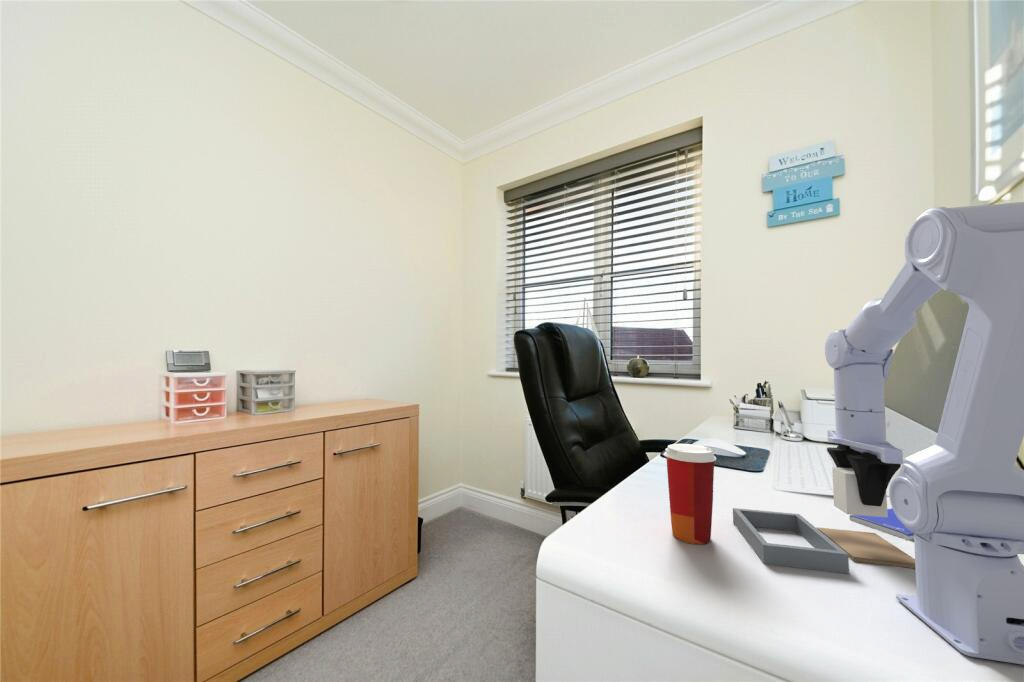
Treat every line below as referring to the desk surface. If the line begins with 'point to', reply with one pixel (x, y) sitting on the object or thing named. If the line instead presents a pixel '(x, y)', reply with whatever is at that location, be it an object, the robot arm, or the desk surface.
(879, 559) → the pad
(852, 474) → the block
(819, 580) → the desk surface
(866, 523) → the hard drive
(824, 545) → the tray
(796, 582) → the desk surface
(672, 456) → the paper cup
